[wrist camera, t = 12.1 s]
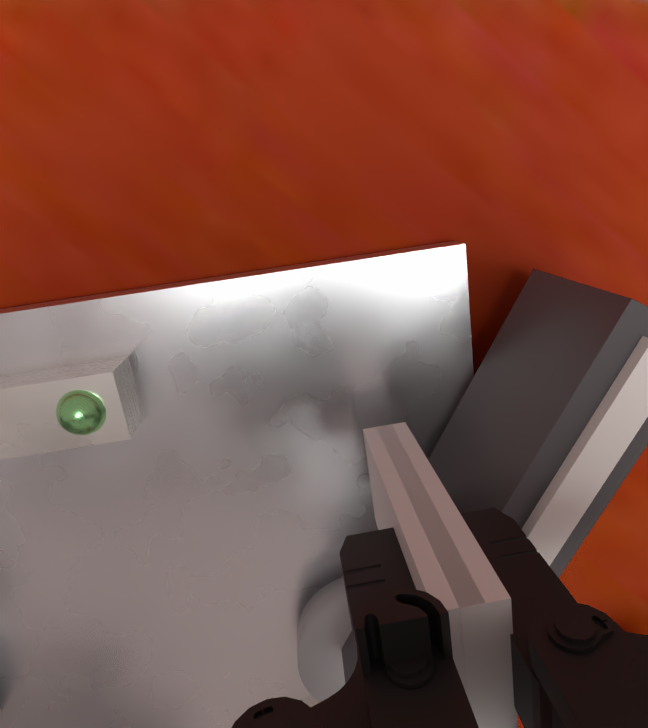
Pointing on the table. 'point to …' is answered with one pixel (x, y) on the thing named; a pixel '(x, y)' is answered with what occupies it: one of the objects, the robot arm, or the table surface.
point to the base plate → (202, 475)
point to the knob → (526, 440)
